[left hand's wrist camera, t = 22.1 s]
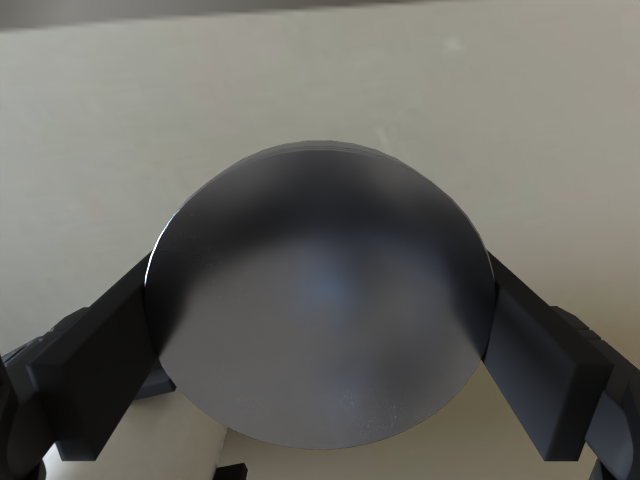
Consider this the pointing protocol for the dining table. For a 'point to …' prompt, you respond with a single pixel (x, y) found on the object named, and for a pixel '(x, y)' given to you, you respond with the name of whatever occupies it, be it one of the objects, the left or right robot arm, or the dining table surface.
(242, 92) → the dining table surface
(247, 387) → the lid
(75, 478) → the jar
